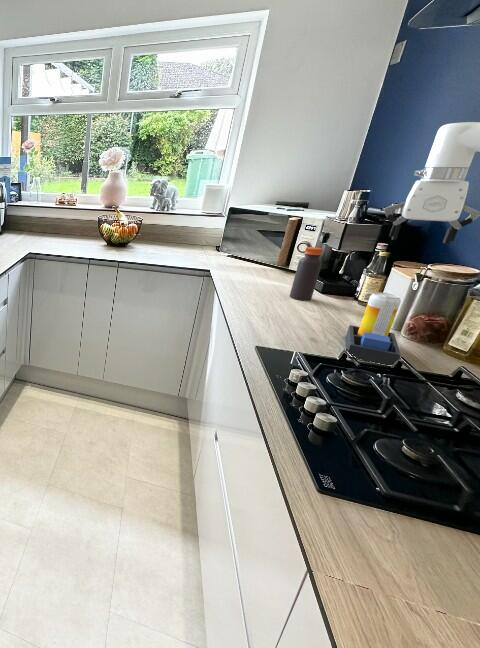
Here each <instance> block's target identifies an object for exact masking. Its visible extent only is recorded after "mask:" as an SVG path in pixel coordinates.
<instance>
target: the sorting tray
mask: <svg viewBox="0 0 480 648" xmlns="http://www.w3.org/2000/svg"><path fill="white" fill-rule="evenodd" d="M359 327H360V326H357V325H352V324H350V325H349V326H348V329H347V331H346V334H345V350H346V349H348V351H349V352H350V353H351V354H353V356H355V357H356V358H358V359H362V360H363V361H362V360H361V361H362V362H367V361H368V362H367V363H371V362H375V363H374V364H376V363H380V364H385V365H393V364H394V363H395V362H396V361H397V360H398V359H399V360H400V358H401V350H400V347H399V344H398V341H397V338H396V334H395V333H394V332H391V331H390V332H389V334H388V337H389V338H390V342H391V343H390V346H389V348H388V351H384V350H379V349H374V348H369V347H364V346H359V345H360V342H361V339H362V336H358V335H357V333H358V330H359ZM358 359H357V360H358ZM370 361H371V362H370ZM380 364H379V365H380ZM385 365H384V366H385Z"/></svg>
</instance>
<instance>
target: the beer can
mask: <svg viewBox="0 0 480 648" xmlns="http://www.w3.org/2000/svg"><path fill="white" fill-rule="evenodd" d="M401 301H402V300H401V297H400V296H399V295H397V294H393V293H389V292H381V291H379V292H378V291H377V292H373V293H372V294H371V295H370V296H369V298H368V302H367V304H366V307H365V310H364V314H363V316H362V320H361V322H360V325H359V326H358V327H359V330H358V333H357V335H358V336H363V333H364V332H367V333H372V334H377V335H382V336H388V334H389V332H390V333H391V329H392V326H393V324H394V321H395V318H396V316H397V313H398V309H399V307H400V304H401Z"/></svg>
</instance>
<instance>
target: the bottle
mask: <svg viewBox="0 0 480 648" xmlns="http://www.w3.org/2000/svg"><path fill="white" fill-rule="evenodd" d="M322 253H323V248H322V247H317V246H316V247H315V246H307V247H305V250H304V256H303V257H302V258H300V259H299V260H298V262H297V268H296V270H295V274H294V277H293V282H292V285H291V288H290V293H289V297H290V298H291V297H292V298H291V299H293V298H295V299H294V300H297V299H299V300H298V301H304V300H309V301H311V300H312V299H313V295H314V292H315V289H316V285H317V281H318V277H319V275H320V271H321V268H322V265H323V262H322V260H321V259H320V257H321V255H322Z"/></svg>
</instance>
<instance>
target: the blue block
mask: <svg viewBox="0 0 480 648" xmlns="http://www.w3.org/2000/svg"><path fill="white" fill-rule="evenodd" d="M390 343H391V342H390V338H389V337H388V336H382V335H377V334H372V333H367V332H364V333H363V336H362V339H361V342H360V345H359V346H364V347H369V348H374V349H379V350H384V351H388V348H389V346H390Z"/></svg>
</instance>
